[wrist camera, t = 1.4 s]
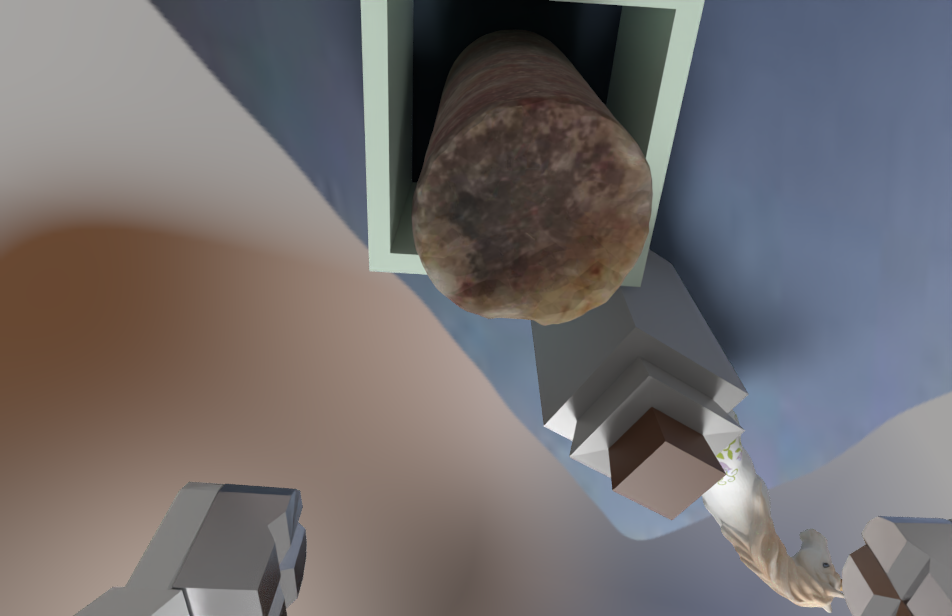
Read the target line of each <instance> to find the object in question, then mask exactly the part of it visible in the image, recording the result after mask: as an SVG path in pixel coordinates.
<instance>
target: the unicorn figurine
mask: <svg viewBox="0 0 952 616" xmlns="http://www.w3.org/2000/svg"><path fill="white" fill-rule="evenodd" d="M727 414H728V415H729V416H730V417H732V418H733V419H734V420H735V421H736V422H737V423H738V424H739V422H738V418H737V416H736V414H735V412H734V411H733V409H732V410H731V411H730V412H728V413H727ZM716 458H717V459H718V461H719V463H720V464H721V466H722V468H723V469H724V471H725V473H726V474H727V475H725V476H724V477H723V478H722V479H721V480H719V481H718V482H717V483H716V484H715V485H714V486H712V487H711V488H710V489H709V490H708V491H706V492H705V493H704V494H703V495H702V497H703V503H704V505H705V507H706V508H707V510H708V511H709V512H710V513H711V514H712V515H713V517H714V518H715V519H716V521H717V522H718V523H719V525H720V526H721V531H722V533H723V535H724V536H725V537H726V538H727V539H728V540H729V541H730V542H731V543H732V544H733V546H734V547H735V550H736V551H737V552H738V554H739V555H740V559H741V561H742V562H743V563H745V565H746V566H748V568H750V569H751V570H752V571H753V572H755V573H756V574H757V575H758V576H759V577H760V578H761V579H762V580H763V581H764V582H765V583H766V584H768V585H769V586H770V587H771V588H772V589H773V590H774V591H775V592H777V593H778V594H780V595H782V596H783V597H785V598H787V599H789V600H790V601H792V602H793V603H794V604H796V605H799V606H802V607H803V606H804V607H805V606H806V607H823V608H824V609H825V610H826V611H827V612H829V613H831V612H832V608H831V605H830V603H831V602H832V599H833V597H840V598H845V597H844V594H843V593H841V592H840V591H843V590H842V579H840V576H839V574H838V573H836V572H835V568H834V566H833V564H832V562H831V556H830V553H829V550H828V547H827V539H826V538H825V537H824V536H822V535H821V534H820V533H819V532H817V531H816V530H814V529H807V530H805V531H803V532H801V533H800V539H801V540H802V542H803V543H802V546H801V549H800V551H799V552H798V553H796V554H795V556H793V557H790V556H789V555H788V554H787V552H786V548H785V546H784V544H783V543H782V542H781V540H780V538H779V537H778V535H777V534H776V532H775V529H774V525H773V521H772V518H771V511H770V496H769V492H768V489H767V487H766V485H765V483H764V481H763V480H762V479H761V478H760V477H759V476H758V475H757V474H756V472H755V469H754V466H753V463H752V460H751V459H750V457H749V455H748V453H747V452H746V450H745V449H744V448H743V447H742V445H741V435H740V436H738V437H737V438H736V439H735V440H734V441H733V442H732V443H730V444H729V445H728V446H727V447H726V448H725V449H723V450H722V451H721V452H720V453H719V454H718V455H717V456H716Z"/></svg>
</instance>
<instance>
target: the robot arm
mask: <svg viewBox="0 0 952 616" xmlns="http://www.w3.org/2000/svg"><path fill="white" fill-rule="evenodd" d="M302 508H303V505H302V499H301V493H300V490H297V489H289V488H274V487H262V486H248V485H235V484H213V483H199V482H188V483H187V484H186V485H185V486H184V487H183V488H182V489H181V490H180V491H179V492H178V494H177V495H176V497H175V499H174V501H173V503H172V504H171V506H170V508H169V510H168V512H167V513H166V515H165V517H164V519H163V520H162V522H161V524H160V526H159V528H158V529H157V531H156V533H155V535H154V536H153V538H152V540H151V542H150V543H149V545H148V547H147V549H146V550H145V552H144V554H143V556H142V558H141V559H140V561H139V563H138V565H137V566H136V568H135V570H134V572H133V574H132V575H131V577H130V579H129V581H128V583H127V584H126V586H125V587H112V588H111V589H109V590H108V591H107V592H105V593H104V594H102V595H101V596H100V597H99V598H97V599H96V600H94V601H93V602H92V603H90V604H89V605H87V606H86V607H85V608H83V609H82V610H80V611H79V612H78V613H76V614H75V615H74V616H287V612H286V608H287V607H288V606H289V605H291V603H293V602H294V601H295V600H296V599H297V598H298V594H299V591H300V587H301V584H302V580H303V575H304V568H305V562H306V547H307V541H306V540H307V539H306V530H305V528H304V527H303V526H302V525H301V524H300V523H298V521H299V517H300V515H301V511H302ZM862 536H863V539H864V541H865V543H866V545H864V546H863V547H861V548H859V549H858V550H856V551H855V552H853V553H851V554H850V555H849V557H848V559H847V561H846V563H845V565H844V567H843V569H842V590H843V593H844V597H845V600H846V603H847V606H848V608H849V610H850V612H851V613H852V615H853V616H952V519H949V520H946V519H940V518H913V517H885V516H878V517H876V518H874V519H873V520H871V521H869V522H868V523H867V525H866V527H865V529H864V530H863V532H862Z"/></svg>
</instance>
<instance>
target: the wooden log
mask: <svg viewBox="0 0 952 616" xmlns="http://www.w3.org/2000/svg"><path fill="white" fill-rule="evenodd" d="M652 198H653V188H652V177H651V171H650V166H649V164H648V162H647V161H646V159H645V157H644V155H643V153H642V151H641V149H640V147H639V145H638V144H637V142H636V141H635V140H634V139H633V137H632V136H631V135H630V134H629V132H628V131H627V130H626V129H625V128H624V127H623V126H622V125H621V124H620V123H619V122H618V121H617V120H616V119H615V117H614V116H613V115H612V113H611V112H610V111H609V109H608V108H607V107H606V106H605V104H604V103H603V102H602V101H601V100H600V99H599V97H598V96H597V95H596V94H595V92H594V91H593V90H592V89H591V87H590V86H589V85H588V83H587V82H586V81H585V80H584V79H583V77H582V76H581V74H580V73H579V72H578V71H577V70H576V68H575V67H574V66H573V64H572V63H571V62H570V61H569V60H568V58H567V57H566V56H565V55H564V54H563V53H562V52H561V51H560V50H559V49H558V48H557V47H556V46H555V45H554V44H553V43H552V42H551V41H549V40H547V39H546V38H544V37H542V36H540V35H538V34H536V33H534V32H531V31H527V30H519V29H516V30H513V29H506V30H500V31H495V32H492V33H490V34H487V35H484V36H482V37H480V38H478V39H477V40H475V41H474V42H472V43H471V44H470V45H469V46H468V47H466V48H465V49H464V50H463V51H462V53H461V54H460V55H459V56H458V58H457V59H456V60H455V62H454V63H453V65H452V67H451V69H450V72H449V74H448V77H447V80H446V83H445V86H444V89H443V93H442V97H441V101H440V106H439V110H438V114H437V118H436V121H435V125H434V129H433V132H432V135H431V138H430V142H429V146H428V149H427V152H426V155H425V160H424V164H423V168H422V171H421V174H420V177H419V179H418V182H417V185H416V188H415V192H414V195H413V202H412V214H411V217H412V230H413V238H414V244H415V248H416V251H417V253H418V255H419V258H420V260H421V263H422V265H423V267H424V269H425V271H426V273H427V274H428V276H429V278H430V279H431V281H432V282H433V284H434V285H435V287H436V288H437V289H438V290H439V291H440V292H441V293H442V294H444V295H445V296H446V297H447V298H449V299H450V300H451V301H452V302H454V303H455V304H456V305H458V306H459V307H460V308H462V309H464V310H465V311H467V312H471V313H474V314H478V315H480V316H482V317H485V318H488V319H491V318H513V319H528V320H534V321H536V322H537V323H539V324H541V325H543V326H546V325H550V324H560V323H564V322H568V321H571V320H573V319H576V318H578V317H580V316H582V315H584V314H585V313H586V312H588V311H589V310H591V309H594V308H596V307H598V306H600V305H602V304H604V303H606V302H607V301H608V300H609V298H610V297H611V296H612V295H613V294H614V293H615V291H616V290H617V289H618V288H619V287H620V286H621V284H622V283H623V281H624V279H625V277H626V276H627V274H628V273H629V272H630V271H631V270H632V268H633V267H634V265H635V263H636V262H637V260H638V258H639V257H640V255H641V253H642V251H643V247H644V244H645V241H646V239H647V236H648V234H649V222H650V218H651V212H652Z"/></svg>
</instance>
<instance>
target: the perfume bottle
mask: <svg viewBox="0 0 952 616" xmlns="http://www.w3.org/2000/svg"><path fill="white" fill-rule="evenodd" d="M531 325H532V333H533V342H534V350H535V358H536V366H537V374H538V382H539V390H540V399H541V407H542V415H543V423H544V426H545V427H547V428H548V429H550V430H552V431H554V432H556V433H558V434H560V435H562V436H564V437H566V438H568V439H570V440H572V441H573V442H572V446H571V451H570V456H569V457H570V458H572V459H574V460H576V461H578V462H580V463H582V464H584V465H586V466H588V467H590V468H592V469H594V470H596V471H598V472H600V473H602V474H604V475H606V476H608V477H610V478H611V480H612V490H613V491H614V492H616V493H618V494H620V495H622V496H624V497H626V498H628V499H630V500H632V501H634V502H636V503H638V504H640V505H642V506H644V507H646V508H648V509H650V510H652V511H654V512H656V513H658V514H660V515H662V516H664V517H666V518H668V519H670V520H673V519H674V518H675V517H677V516H678V515H679V514H680V513H681V512H683V511H684V510H685V509H686V508H687V507H688V506H690V505H691V504H692V503H693V502H694V501H696V500H697V499H698V498H699V497H700V496H702V495H703V494H704V493H705V492H706V491H708V490H709V489H710V488H711V487H712V486H714V485H715V484H716V483H717V482H718V481H719V480H721V479H722V478H723V477H724V476H725V475H727V474H726V473H725V471H724V469H723V468H722V466H721V464H720V463H719V461H718V459H717V458H716V456H717V455H718V454H719V453H720V452H721V451H722V450H723V449H725V448H726V447H727V446H728V445H729V444H730V443H732V442H733V441H734V440H735V439H736V438H737V437H738V436H740V435H741V434H742V433H743V432H744V431H745V430H744V429H743V428H742V427H741V426H740V425H739V424H738V423H737V422H736V421H735V420H734V419H733V418H732V417H730V416H729V415H728V414H727V413H728V412H730V411H731V410H732V409H733V408H734V407H735V406H736V405H737V404H738V403H740V402H741V401H742V400H743V399H744V398H745V397H746V396H747V395H748V393H747V391H746V389H745V387H744V386H743V384H742V382H741V381H740V379H739V377H738V376H737V374H736V372H735V370H734V369H733V367H732V365H731V364H730V362H729V360H728V359H727V357H726V355H725V353H724V352H723V350H722V348H721V347H720V345H719V343H718V342H717V340H716V338H715V336H714V335H713V333H712V331H711V330H710V328H709V326H708V325H707V323H706V321H705V319H704V318H703V316H702V314H701V313H700V311H699V309H698V308H697V306H696V304H695V302H694V301H693V299H692V297H691V296H690V294H689V292H688V291H687V289H686V287H685V285H684V284H683V282H682V280H681V279H680V277H679V275H678V274H677V272H676V270H675V268H674V267H673V265H672V264H671V263H670V262H668V261H667V260H665V259H664V258H662V257H660V256H659V255H657V254H656V253H654V252H653V251H651V250H650V249H649V251H648V255H647V260H646V264H645V269H644V273H643V278H642V282H641V287H632V286H620V287H619V288H618V289H617V290H616V291H615V293H614V294H613V295H612V296H611V297H610V298H609V300H608V301H607V302H606V303H604V304H602V305H600V306H598V307H596V308H594V309H591V310H589V311H588V312H586V313H585V314H584V315H582V316H580V317H578V318H576V319H573V320H571V321H568V322H564V323H560V324H550V325H546V326H543V325H541V324H539V323H537V322H536V321H534V320H531Z"/></svg>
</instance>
